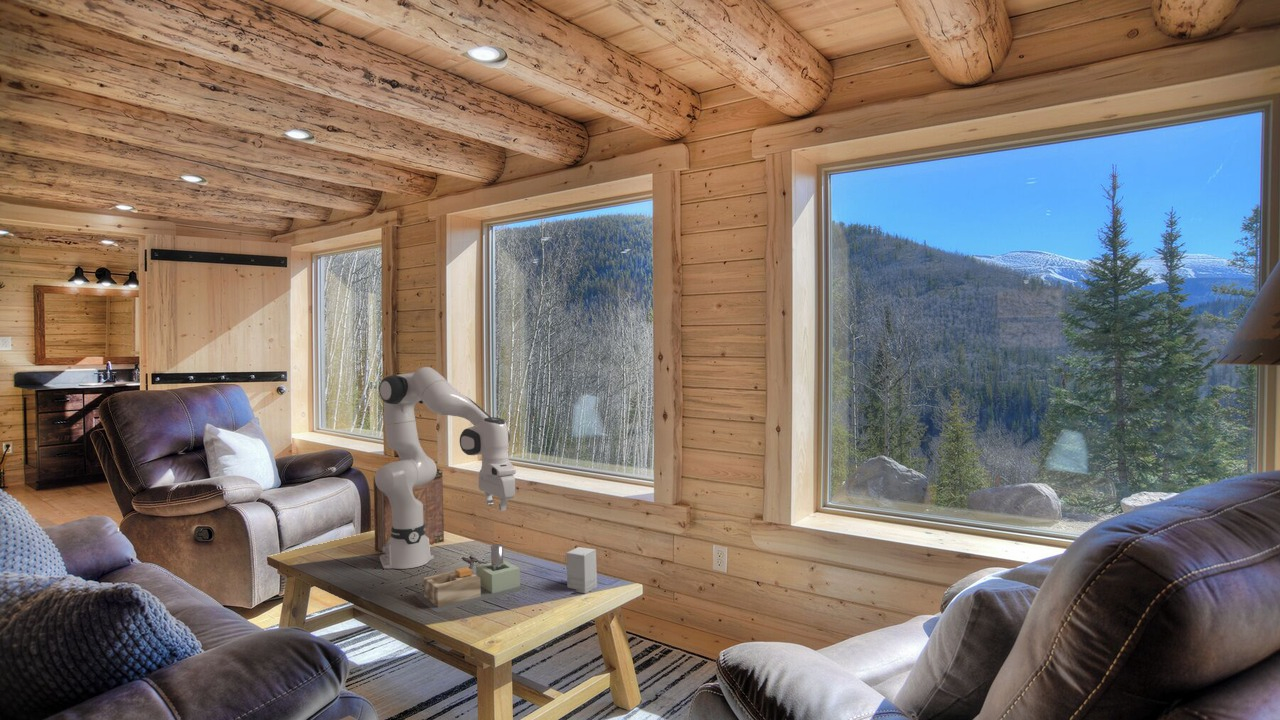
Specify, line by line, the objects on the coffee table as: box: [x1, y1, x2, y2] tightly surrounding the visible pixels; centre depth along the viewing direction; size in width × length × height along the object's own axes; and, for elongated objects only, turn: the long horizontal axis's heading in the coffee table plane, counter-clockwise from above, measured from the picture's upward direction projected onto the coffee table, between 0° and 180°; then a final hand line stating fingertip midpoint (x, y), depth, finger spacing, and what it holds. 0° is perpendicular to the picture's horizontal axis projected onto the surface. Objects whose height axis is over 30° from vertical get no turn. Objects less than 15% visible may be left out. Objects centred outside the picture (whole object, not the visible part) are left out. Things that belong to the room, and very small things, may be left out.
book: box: [373, 468, 445, 554], centre depth 276 cm, size 25×9×30 cm, turn 135°
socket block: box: [423, 570, 481, 607], centre depth 217 cm, size 12×14×6 cm
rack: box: [475, 559, 521, 593], centre depth 226 cm, size 12×10×6 cm
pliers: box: [462, 555, 488, 570], centre depth 251 cm, size 10×1×20 cm
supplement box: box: [565, 546, 598, 594], centre depth 224 cm, size 7×7×13 cm
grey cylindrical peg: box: [490, 543, 504, 571], centre depth 227 cm, size 4×4×12 cm
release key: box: [454, 566, 473, 577], centre depth 219 cm, size 4×4×6 cm
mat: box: [414, 583, 529, 613], centre depth 221 cm, size 19×31×1 cm, turn 128°
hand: (496, 507), depth 226 cm, fingers open, 8 cm apart
